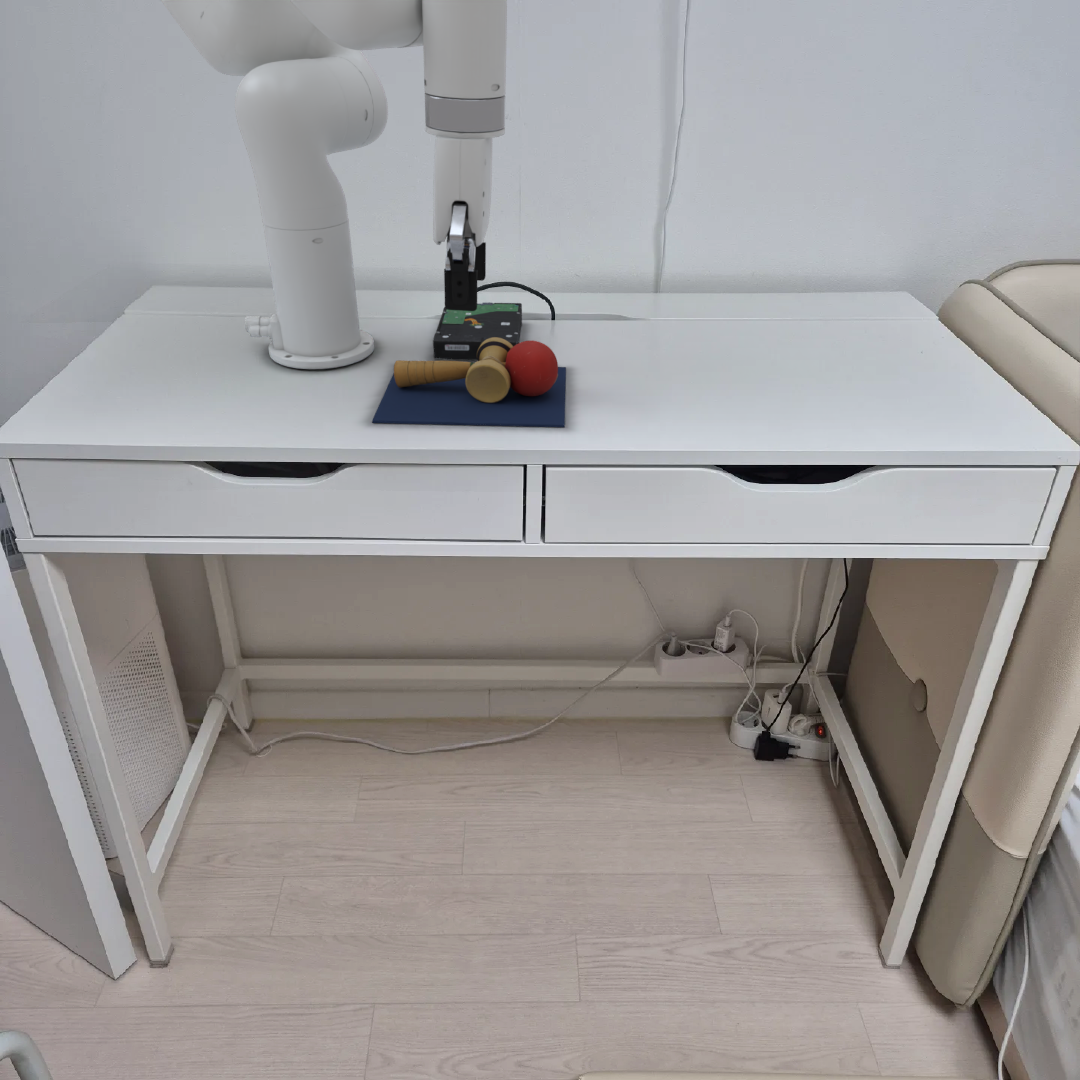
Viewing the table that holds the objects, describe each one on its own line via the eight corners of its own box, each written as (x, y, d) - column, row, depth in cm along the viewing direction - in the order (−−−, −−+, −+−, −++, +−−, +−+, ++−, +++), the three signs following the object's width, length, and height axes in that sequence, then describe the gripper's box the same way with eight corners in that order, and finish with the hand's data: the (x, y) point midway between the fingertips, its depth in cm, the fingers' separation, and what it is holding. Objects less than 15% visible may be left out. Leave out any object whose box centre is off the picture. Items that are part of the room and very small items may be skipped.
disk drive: (519, 363, 108) (522, 321, 120) (519, 341, 106) (522, 300, 119) (433, 362, 108) (445, 320, 120) (432, 340, 106) (444, 300, 119)
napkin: (372, 423, 93) (372, 420, 93) (398, 365, 107) (397, 363, 106) (564, 427, 93) (564, 424, 92) (566, 369, 106) (566, 366, 106)
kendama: (392, 414, 97) (555, 401, 94) (382, 355, 95) (549, 341, 92) (411, 398, 104) (564, 386, 101) (402, 343, 102) (558, 329, 99)
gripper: (437, 100, 92) (440, 267, 101) (411, 129, 77) (418, 320, 87) (510, 104, 92) (507, 270, 101) (498, 133, 77) (495, 324, 87)
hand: (466, 293), depth 94 cm, fingers open, 9 cm apart
